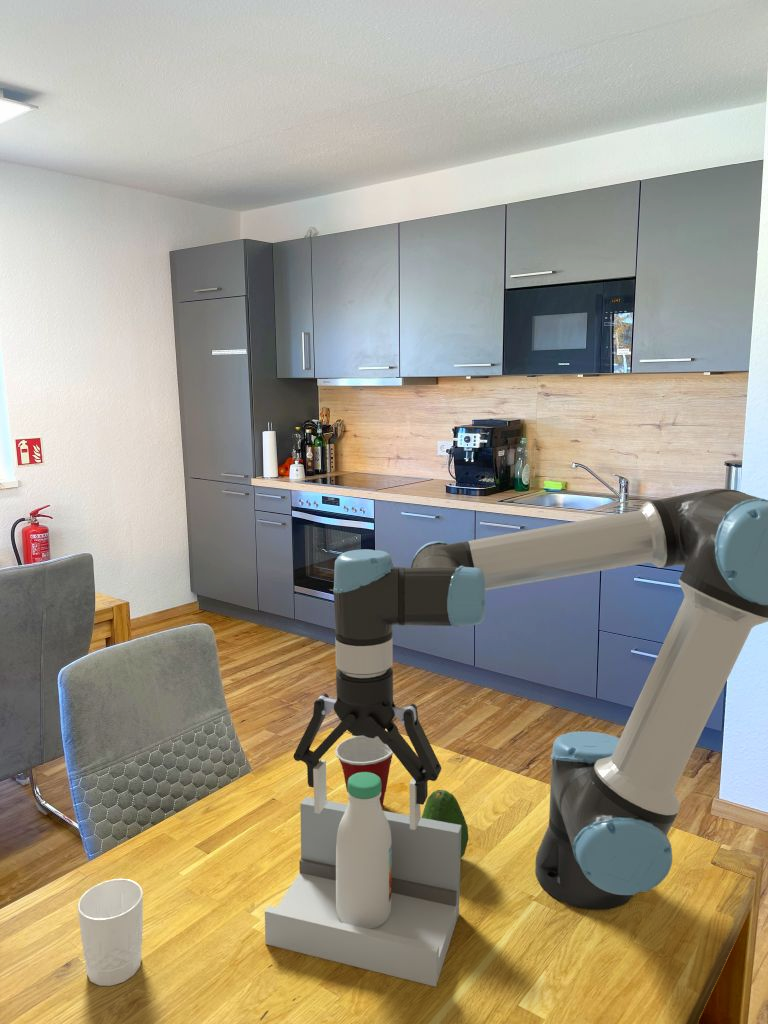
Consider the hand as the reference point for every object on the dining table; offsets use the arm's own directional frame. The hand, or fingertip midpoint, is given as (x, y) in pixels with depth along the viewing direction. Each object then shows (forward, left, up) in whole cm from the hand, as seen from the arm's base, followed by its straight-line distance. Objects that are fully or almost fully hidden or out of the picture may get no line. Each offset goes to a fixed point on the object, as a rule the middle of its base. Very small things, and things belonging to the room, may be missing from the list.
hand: (367, 816), depth 102 cm
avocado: (-7, -19, -18) cm, 27 cm away
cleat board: (0, -1, -18) cm, 18 cm away
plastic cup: (+10, -30, -18) cm, 36 cm away
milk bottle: (0, 0, -15) cm, 15 cm away
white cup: (+29, +16, -18) cm, 38 cm away
